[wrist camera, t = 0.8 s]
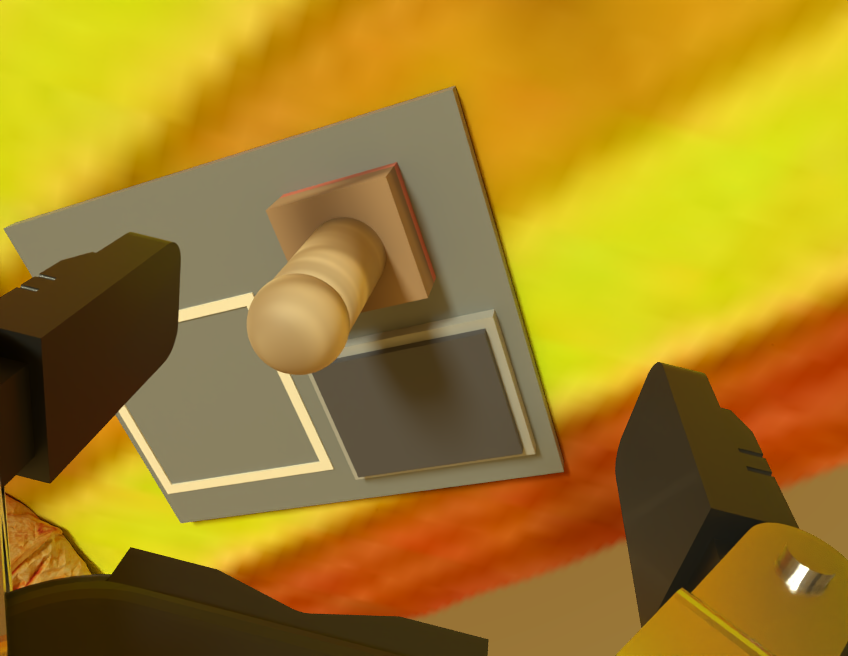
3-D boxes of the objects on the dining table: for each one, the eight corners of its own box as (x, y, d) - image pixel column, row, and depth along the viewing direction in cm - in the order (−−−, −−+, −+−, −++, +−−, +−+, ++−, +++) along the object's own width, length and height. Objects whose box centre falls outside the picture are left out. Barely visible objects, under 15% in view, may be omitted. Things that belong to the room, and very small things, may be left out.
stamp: (397, 162, 30) (325, 254, 21) (436, 277, 33) (386, 404, 24) (283, 194, 32) (172, 292, 23) (328, 301, 34) (243, 429, 25)
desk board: (455, 85, 29) (447, 95, 27) (564, 462, 37) (563, 488, 36) (14, 223, 36) (-15, 238, 34) (186, 514, 44) (170, 538, 43)
